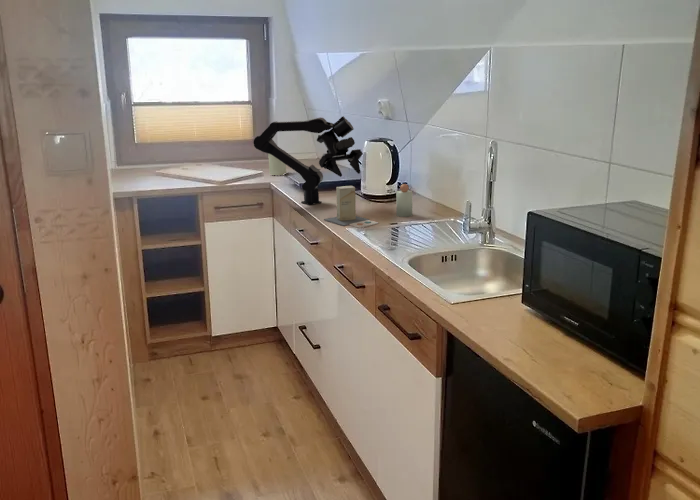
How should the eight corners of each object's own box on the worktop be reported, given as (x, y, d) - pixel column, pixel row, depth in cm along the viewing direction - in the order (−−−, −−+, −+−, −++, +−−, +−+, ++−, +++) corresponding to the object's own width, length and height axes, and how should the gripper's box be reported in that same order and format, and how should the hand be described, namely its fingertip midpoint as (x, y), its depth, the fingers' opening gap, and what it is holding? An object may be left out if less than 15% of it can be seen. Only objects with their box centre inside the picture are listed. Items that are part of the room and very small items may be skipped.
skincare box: (340, 221, 229) (339, 188, 226) (336, 218, 233) (335, 186, 230) (356, 219, 231) (355, 187, 228) (352, 216, 235) (351, 185, 232)
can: (276, 176, 326) (274, 153, 323) (265, 174, 333) (264, 152, 330) (290, 174, 332) (288, 151, 329) (279, 172, 339) (278, 150, 335)
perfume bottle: (393, 215, 238) (393, 183, 235) (404, 212, 242) (404, 181, 238) (404, 217, 234) (404, 186, 230) (415, 215, 237) (415, 183, 234)
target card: (349, 224, 226) (349, 223, 226) (368, 220, 231) (368, 219, 231) (359, 227, 221) (359, 226, 221) (378, 223, 226) (378, 222, 226)
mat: (323, 220, 233) (323, 219, 233) (349, 215, 240) (349, 214, 240) (343, 226, 224) (343, 225, 224) (369, 220, 231) (369, 219, 231)
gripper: (321, 133, 241) (340, 164, 236) (359, 129, 252) (377, 159, 247) (311, 151, 249) (328, 182, 244) (347, 146, 260) (365, 176, 255)
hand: (350, 174), depth 248 cm, fingers open, 9 cm apart
